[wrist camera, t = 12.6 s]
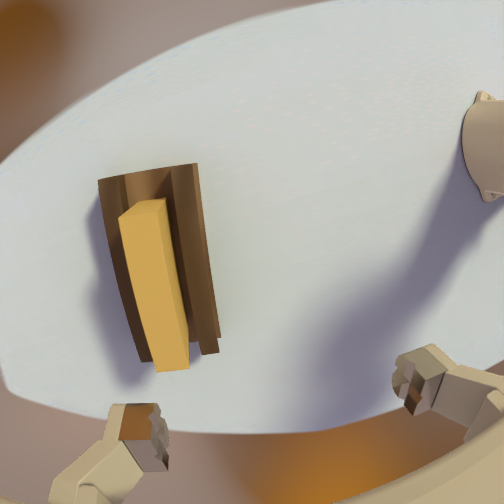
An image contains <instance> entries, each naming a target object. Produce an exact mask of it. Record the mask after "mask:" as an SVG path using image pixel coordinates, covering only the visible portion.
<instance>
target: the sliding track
mask: <svg viewBox="0 0 504 504" xmlns="http://www.w3.org/2000/svg"><path fill="white" fill-rule="evenodd" d="M98 186H99V193H100V199H101V206H102V211H103V217H104V223H105V228H106V233H107V238H108V243H109V248H110V253H111V257H112V262H113V266H114V270H115V274H116V279H117V283H118V287H119V290H120V294H121V298H122V302H123V305H124V309H125V312H126V316H127V319H128V323H129V326H130V329H131V333H132V336H133V339H134V342H135V345H136V348H137V351H138V354H139V357H140V360H141V362H151V361H153V358H152V355H151V352H150V349H149V345H148V342H147V339H146V335H145V332H144V328H143V325H142V321H141V318H140V314H139V310H138V307H137V303H136V299H135V295H134V291H133V287H132V283H131V279H130V274H129V270H128V265H127V261H126V256H125V251H124V247H123V242H122V236H121V231H120V226H119V220H118V218H119V217H120V216H121V215H123V214H124V213H125V212H126V211H127V210H129V209H130V208H131V207H132V206H134V205H135V204H136V203H137V202H140V201H146V200H153V199H159V198H165V197H167V202H168V209H169V216H170V223H171V229H172V236H173V242H174V248H175V254H176V260H177V266H178V271H179V277H180V282H181V287H182V293H183V298H184V303H185V308H186V313H187V317H188V340H189V342H195V341H199V345H200V349H201V354H202V355H207V354H213V353H220V352H219V346H218V341H217V338H221V333H220V327H219V321H218V315H217V309H216V302H215V296H214V289H213V283H212V276H211V269H210V262H209V255H208V248H207V240H206V233H205V225H204V217H203V209H202V201H201V192H200V184H199V175H198V166H197V163H193V164H185V165H178V166H171V167H165V168H158V169H152V170H146V171H140V172H135V173H129V174H124V175H118V176H113V177H108V178H103V179H99V180H98Z"/></svg>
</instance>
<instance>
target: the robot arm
mask: <svg viewBox="0 0 504 504" xmlns="http://www.w3.org/2000/svg"><path fill="white" fill-rule="evenodd" d="M462 145H463V153H464V158H465V162H466V166H467V169H468V171H469V173H470V175H471V177H472V179H473V180H474V182H475V183H476V184H477V186H478V187H479V189H480V192H481V195H482V198H483V200H484V201H485V202H492V201H494V200H496V199H498V198H500V197H502V196H504V100H497V99H495V98H494V97H492V96H491V95H490V94H488V93H487V92H485V91H479V92H478V94H477V97H476V101H475V103H474V104H473V105H472V106H471V107H470V108H469V110H468V112H467V114H466V116H465V119H464V123H463V131H462ZM395 365H396V366H397V369H396V371H395V372H394V373H393V376H392V387H393V390H394V392H395V394H396V395H397V396H398V397H399V398H401V399H404V406H405V407H406V408H407V410H408V411H409V412H410V414H411V415H412V416H415V415H418V414H420V413H423V412H425V411H427V410H429V409H431V410H433V411H435V412H437V413H439V414H441V415H443V416H445V417H447V418H449V419H451V420H453V421H455V422H457V423H459V424H461V425H463V426H466V427H468V428H469V430H468V432H467V433H466V435H465V437H464V442H465V443H464V444H463V445H461V446H460V447H458V448H456V449H455V450H453V451H451V452H450V453H448V454H446V455H445V456H443V457H441V458H439V459H437V460H435V461H434V462H432V463H430V464H428V465H426V466H424V467H422V468H420V469H418V470H416V471H414V472H412V473H410V474H408V475H406V476H403V477H401V478H399V479H397V480H394V481H392V482H390V483H387V484H385V485H383V486H380V487H378V488H375V489H373V490H370V491H367V492H365V493H362V494H359V495H357V496H353V497H351V498H348V499H345V500H341V501H339V502H335V503H332V504H504V376H500V375H496V374H493V373H489V372H485V371H482V370H478V369H475V368H471V367H467V366H464V365H459V366H458V365H457V364H456V363H455V362H454V361H452V360H451V359H450V358H449V357H448V356H447V355H446V354H445V353H444V352H443V351H442V350H441V349H440V348H438V347H437V346H436V345H435V344H432V343H431V344H429V345H426V346H423V347H421V348H418V349H415V350H413V351H410V352H407V353H404V354H402V355H399V356H398V357H397V359H396V363H395ZM160 415H161V410H160V408H159V405H158V404H157V403H127V404H113V405H112V406H111V407H110V411H109V415H108V419H107V422H106V427H105V430H104V434H103V439H102V440H98V441H96V442H95V443H94V444H93V445H92V446H91V447H90V448H89V449H88V450H86V451H85V452H84V453H83V454H82V455H81V456H80V457H79V458H77V459H76V460H75V461H74V462H73V463H72V464H71V465H69V466H68V467H67V468H66V469H65V470H64V471H63V472H61V473H60V474H59V475H58V476H57V477H56V478H55V479H54V481H53V485H52V489H51V492H50V496H49V500H48V503H47V504H121V503H122V502H123V501H124V499H125V498H126V497H127V495H128V494H129V493H130V491H131V490H132V489H133V487H134V486H135V485H136V483H137V482H138V480H139V479H140V478H141V476H142V475H143V472H166V471H168V460H169V455H168V453H167V451H166V448H167V447H168V446H169V431H168V427H167V424H166V421H165V419H163V418H162V417H160ZM0 504H25V503H22V502H19V501H16V500H13V499H10V498H8V497H5V496H2V495H0Z"/></svg>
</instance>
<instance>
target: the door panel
mask: <svg viewBox="0 0 504 504" xmlns="http://www.w3.org/2000/svg"><path fill="white" fill-rule="evenodd" d="M118 220H119V226H120V231H121V236H122V242H123V247H124V251H125V256H126V261H127V265H128V270H129V274H130V279H131V283H132V287H133V291H134V295H135V299H136V303H137V307H138V310H139V314H140V318H141V321H142V325H143V328H144V332H145V335H146V339H147V342H148V345H149V349H150V352H151V355H152V358H153V361H154V364H155V367H156V370H157V372H167V371H175V370H183V369H189V340H188V317H187V313H186V308H185V303H184V298H183V293H182V287H181V282H180V277H179V271H178V266H177V260H176V254H175V248H174V242H173V236H172V229H171V223H170V216H169V209H168V202H167V197H165V198H159V199H153V200H146V201H140V202H137V203H136V204H135V205H134V206H132V207H131V208H130V209H129V210H127V211H126V212H125V213H124V214H123V215H121V216H120V217H119V218H118Z"/></svg>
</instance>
